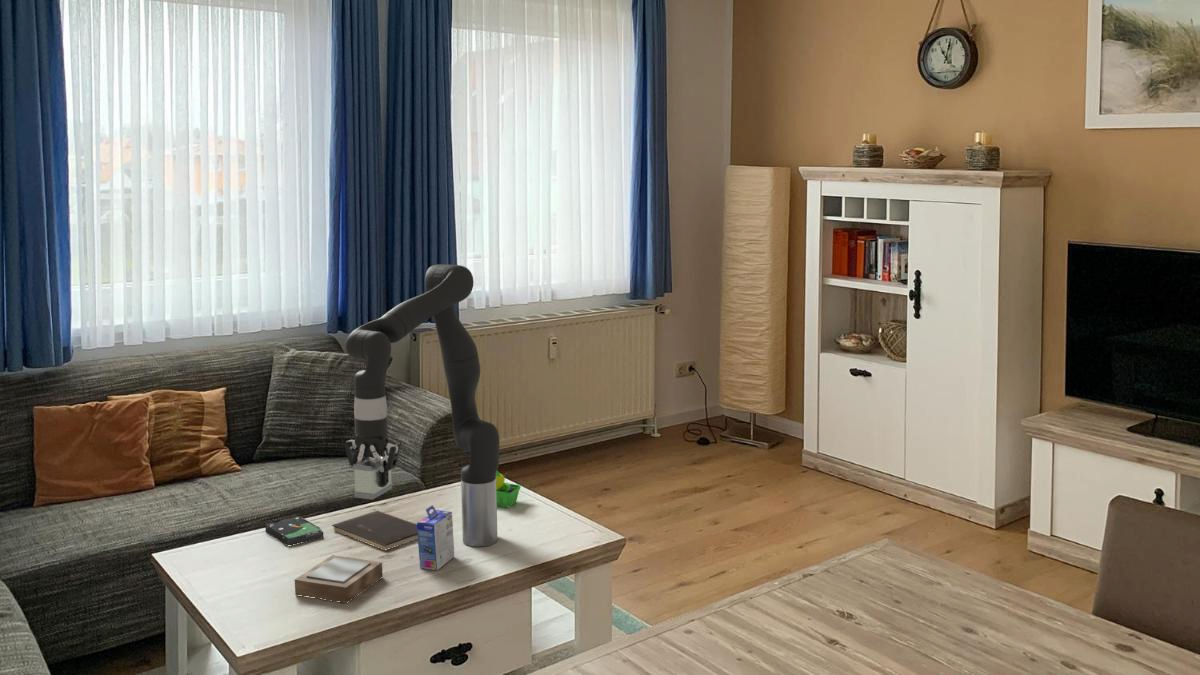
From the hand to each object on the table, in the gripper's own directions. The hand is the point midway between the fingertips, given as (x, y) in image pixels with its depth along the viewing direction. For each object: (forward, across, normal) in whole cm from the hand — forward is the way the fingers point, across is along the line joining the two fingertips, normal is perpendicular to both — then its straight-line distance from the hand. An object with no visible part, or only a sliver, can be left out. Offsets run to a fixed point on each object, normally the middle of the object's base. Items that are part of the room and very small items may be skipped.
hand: (373, 484), depth 256 cm
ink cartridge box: (+26, -6, -18) cm, 32 cm away
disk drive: (+26, +40, -23) cm, 53 cm away
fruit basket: (+25, -2, -64) cm, 69 cm away
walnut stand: (+26, +9, +3) cm, 27 cm away
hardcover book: (+26, +18, -32) cm, 45 cm away
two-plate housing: (+2, 0, 0) cm, 2 cm away
